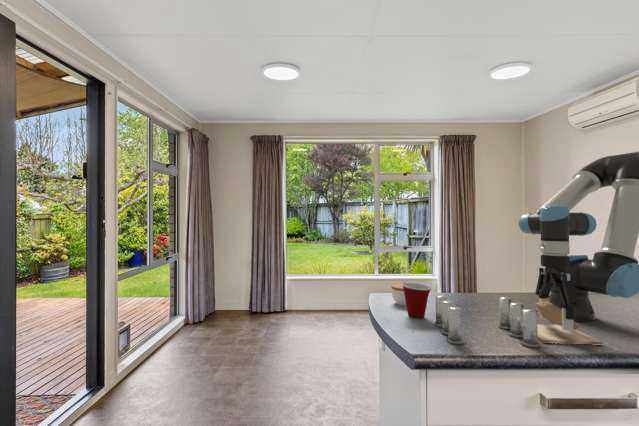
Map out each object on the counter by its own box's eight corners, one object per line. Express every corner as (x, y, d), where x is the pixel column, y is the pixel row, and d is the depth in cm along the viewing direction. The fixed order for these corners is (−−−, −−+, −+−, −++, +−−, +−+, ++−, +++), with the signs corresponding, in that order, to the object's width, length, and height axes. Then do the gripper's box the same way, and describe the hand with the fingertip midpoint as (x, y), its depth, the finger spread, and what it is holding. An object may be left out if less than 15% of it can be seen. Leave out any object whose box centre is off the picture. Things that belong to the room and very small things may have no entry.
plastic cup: (433, 322, 119) (433, 288, 120) (402, 320, 121) (402, 287, 122) (430, 313, 130) (429, 282, 130) (401, 312, 132) (401, 281, 132)
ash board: (567, 328, 112) (567, 325, 112) (602, 345, 97) (602, 342, 97) (517, 326, 114) (517, 323, 114) (543, 343, 98) (543, 340, 98)
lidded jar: (421, 306, 142) (421, 283, 142) (399, 307, 139) (399, 285, 139) (408, 300, 152) (408, 279, 153) (387, 301, 149) (387, 280, 150)
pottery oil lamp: (565, 332, 98) (564, 308, 98) (529, 321, 110) (529, 299, 110) (587, 330, 100) (587, 306, 101) (550, 319, 112) (549, 297, 112)
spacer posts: (509, 326, 115) (509, 296, 115) (542, 348, 94) (542, 312, 95) (433, 323, 117) (433, 294, 118) (449, 344, 97) (449, 309, 97)
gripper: (523, 251, 118) (524, 313, 118) (565, 258, 95) (566, 335, 94) (546, 251, 117) (547, 313, 117) (594, 258, 94) (595, 337, 93)
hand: (555, 323), depth 105 cm, fingers closed on pottery oil lamp, 11 cm apart
